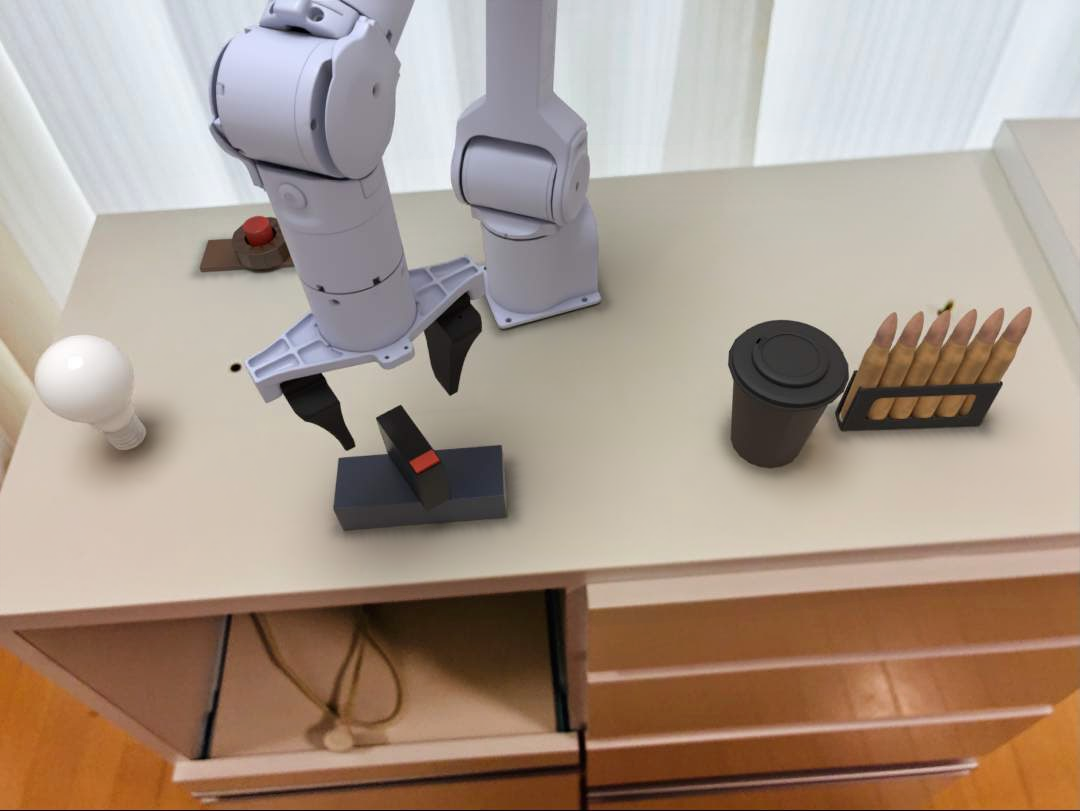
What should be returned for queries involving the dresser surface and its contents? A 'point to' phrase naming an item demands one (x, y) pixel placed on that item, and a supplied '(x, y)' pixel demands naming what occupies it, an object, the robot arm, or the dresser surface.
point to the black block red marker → (414, 457)
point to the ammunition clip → (930, 373)
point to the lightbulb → (91, 387)
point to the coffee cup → (781, 388)
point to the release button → (258, 231)
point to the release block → (246, 252)
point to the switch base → (387, 500)
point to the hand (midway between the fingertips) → (396, 411)
